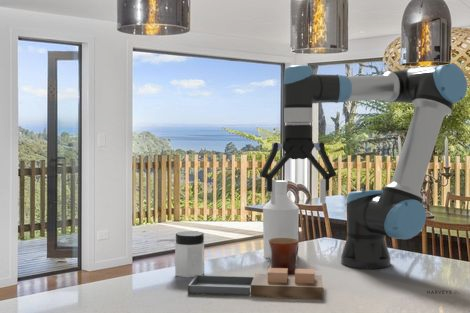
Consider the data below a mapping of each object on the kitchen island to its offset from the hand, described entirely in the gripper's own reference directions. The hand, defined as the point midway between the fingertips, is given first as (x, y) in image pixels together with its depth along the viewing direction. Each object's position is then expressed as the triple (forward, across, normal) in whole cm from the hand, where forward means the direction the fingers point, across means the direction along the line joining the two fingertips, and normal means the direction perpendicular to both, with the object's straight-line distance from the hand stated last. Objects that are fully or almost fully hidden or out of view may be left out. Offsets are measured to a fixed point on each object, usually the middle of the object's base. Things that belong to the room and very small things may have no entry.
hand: (298, 203), depth 161 cm
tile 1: (+19, +6, +4) cm, 21 cm away
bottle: (+23, -2, -38) cm, 44 cm away
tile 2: (+19, 0, +6) cm, 20 cm away
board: (+22, +4, +5) cm, 23 cm away
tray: (+22, +21, +1) cm, 30 cm away
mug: (+23, +1, -13) cm, 26 cm away
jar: (+22, +28, -16) cm, 40 cm away
